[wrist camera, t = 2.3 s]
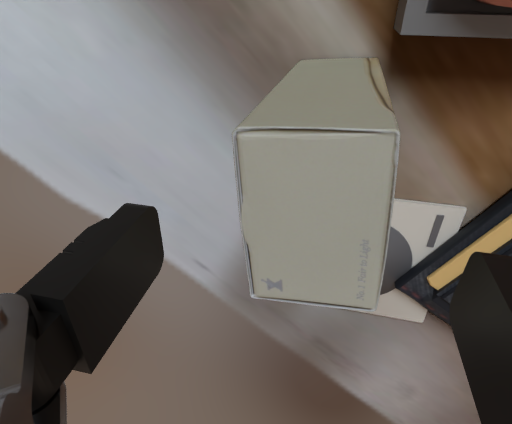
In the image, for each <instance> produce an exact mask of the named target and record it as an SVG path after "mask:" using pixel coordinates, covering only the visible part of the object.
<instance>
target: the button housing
mask: <svg viewBox="0 0 512 424" xmlns="http://www.w3.org/2000/svg"><path fill="white" fill-rule="evenodd" d="M394 29H395V30H396V31H397V32H398V33H399V34H400V35H423V36H452V37H481V38H510V39H512V7H503V6H495V5H488V4H484V3H480V2H478V1H475V0H399V3H398V8H397V13H396V18H395V24H394Z"/></svg>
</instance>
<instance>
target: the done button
mask: <svg viewBox="0 0 512 424" xmlns="http://www.w3.org/2000/svg"><path fill="white" fill-rule="evenodd" d="M475 1H478V2H480V3H484V4H488V5H495V6H503V7H512V0H475Z"/></svg>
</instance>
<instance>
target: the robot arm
mask: <svg viewBox="0 0 512 424" xmlns="http://www.w3.org/2000/svg"><path fill="white" fill-rule="evenodd" d="M163 258H164V251H163V244H162V237H161V231H160V225H159V218H158V213H157V210H156V208H155V207H153V206H145V205H138V204H131V203H126V204H124V205H123V206H122V207H121V208H119V209H118V210H117V211H116V212H115V213H114V214H113V215H112V216H111V217H110V218H109V219H108V218H105V219H103V220H101V221H100V222H98V223H96V224H94V225H92V226H90V227H88V228H87V229H86V230H84V231H83V232H82V233H81V234H80V235H79V236H78V237H77V238H76V239H75V240H74V243H72V242H71V243H70V244H69V245H68V246H67V247H66V248H65V249H64V250H63V253H59V254H58V255H57V256H56V257H55V258H54V259H53V260H52V261H50V262H49V263H48V264H47V265H46V266H45V267H44V268H43V269H42V270H41V271H39V272H38V273H37V274H36V275H35V276H34V277H33V278H32V279H31V280H30V281H29V282H27V284H25V285H24V286H23V287H22V288H21V289H20V290H19V291H18V292H16V293H15V294H13V293H2V294H0V424H67V404H66V385H65V382H64V380H65V379H66V378H67V376H68V375H69V374H70V372H71V371H72V370H76V371H80V372H85V373H89V374H92V372H93V371H94V369H95V368H96V366H97V365H98V363H99V362H100V360H101V359H102V357H103V356H104V354H105V353H106V351H107V349H108V348H109V347H110V345H111V344H112V342H113V341H114V339H115V338H116V336H117V335H118V333H119V332H120V330H121V329H122V327H123V326H124V324H125V323H126V321H127V320H128V318H129V317H130V315H131V314H132V312H133V311H134V309H135V308H136V306H137V305H138V303H139V302H140V300H141V299H142V297H143V296H144V294H145V293H146V291H147V290H148V288H149V287H150V285H151V284H152V282H153V281H154V279H155V278H156V276H157V275H158V273H159V272H160V270H161V267H162V263H163ZM449 317H450V323H451V327H452V330H453V333H454V337H455V340H456V343H457V346H458V350H459V353H460V356H461V359H462V363H463V366H464V369H465V372H466V376H467V379H468V382H469V385H470V388H471V392H472V395H473V398H474V401H475V405H476V408H477V411H478V414H479V418H480V421H481V424H512V256H506V255H499V254H491V253H484V252H474V253H473V254H472V255H471V256H470V258H469V260H468V262H467V264H466V266H465V269H464V271H463V273H462V276H461V278H460V280H459V282H458V285H457V287H456V289H455V292H454V294H453V296H452V299H451V302H450V309H449Z"/></svg>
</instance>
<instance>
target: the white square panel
mask: <svg viewBox="0 0 512 424" xmlns="http://www.w3.org/2000/svg"><path fill="white" fill-rule="evenodd" d="M466 210H467V209H466V207H463V206H454V205H446V204H437V203H429V202H420V201H412V200H403V199H395V198H394V203H393V212H392V220H391V228H390V235H389V243H388V250H387V257H386V263H385V270H384V275H383V281H382V287H381V292H380V297H379V302H378V306H377V309H376V311H374V312H366V311H358V312H363V313H369V314H375V315H380V316H386V317H392V318H397V319H403V320H409V321H414V322H420V323H423V321H424V318H425V316H426V313H427V311H428V310H427V309H425V308H424V307H423V306H422V305H420V304H419V303H418V302H416V301H415V300H414V299H412V298H411V297H409V296H408V295H406V294H404V293H403V292H401V291H400V290H398V289H396V288H395V283H394V282H395V281H396V280H398V279H399V278H400V277H401V276H403V275H404V274H405V273H407V272H408V271H409V270H410V269H412V268H413V267H414V266H416V265H417V264H418V263H419V262H421V261H422V260H423V259H425V258H426V257H427V256H428V255H430V254H431V253H432V252H434V251H435V250H436V249H437V248H439V247H440V246H441V245H443V244H444V243H445V242H446V241H448V240H449V239H450V238H451V237H453V236H454V235H455V234H457V233H458V231H459V228H460V226H461V223H462V221H463V218H464V215H465V213H466ZM352 311H356V310H352Z"/></svg>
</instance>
